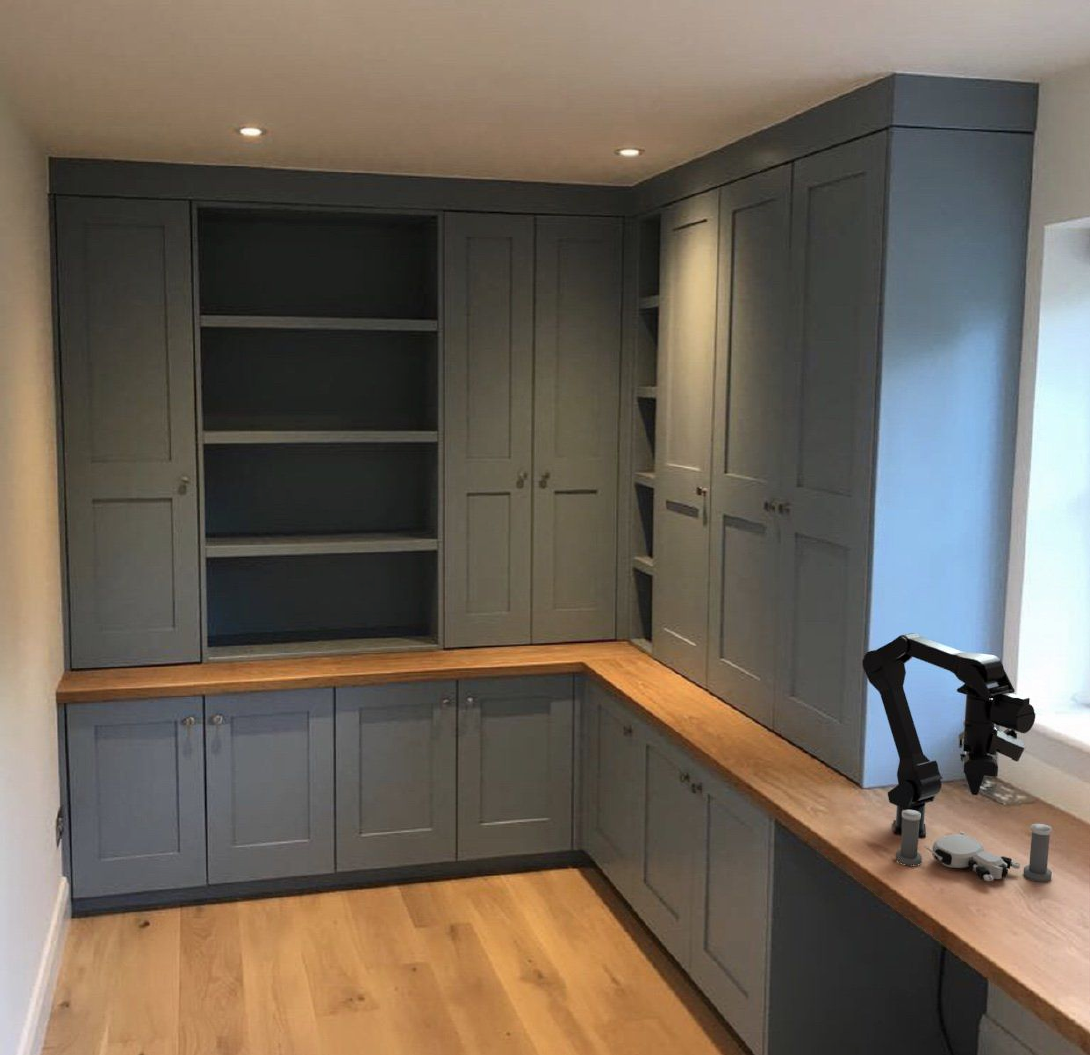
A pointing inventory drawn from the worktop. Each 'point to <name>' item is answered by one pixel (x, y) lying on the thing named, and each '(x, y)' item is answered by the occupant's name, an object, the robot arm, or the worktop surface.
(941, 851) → the robot toy
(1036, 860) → the tube
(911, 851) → the tube
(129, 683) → the worktop surface
